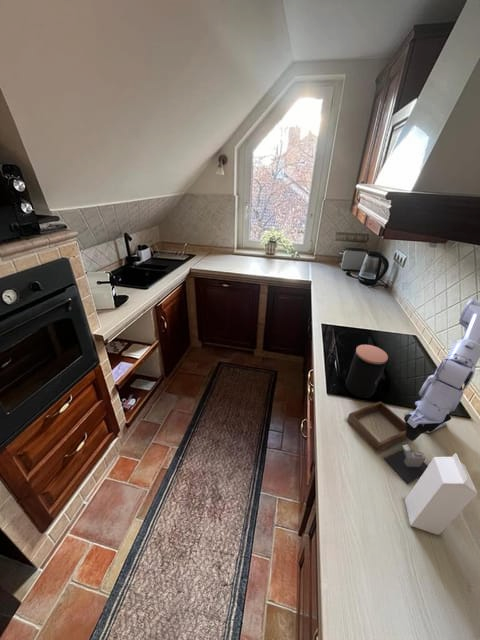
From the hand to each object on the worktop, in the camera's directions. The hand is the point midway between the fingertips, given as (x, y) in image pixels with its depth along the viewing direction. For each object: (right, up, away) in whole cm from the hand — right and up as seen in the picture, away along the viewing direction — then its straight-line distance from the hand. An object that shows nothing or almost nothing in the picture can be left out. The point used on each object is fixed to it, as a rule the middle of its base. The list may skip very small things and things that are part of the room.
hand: (418, 433), depth 73 cm
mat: (-2, -10, +1) cm, 10 cm away
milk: (-6, -16, -10) cm, 20 cm away
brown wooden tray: (-5, -4, +12) cm, 14 cm away
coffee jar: (-4, +5, +28) cm, 28 cm away
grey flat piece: (-2, -10, +1) cm, 10 cm away
